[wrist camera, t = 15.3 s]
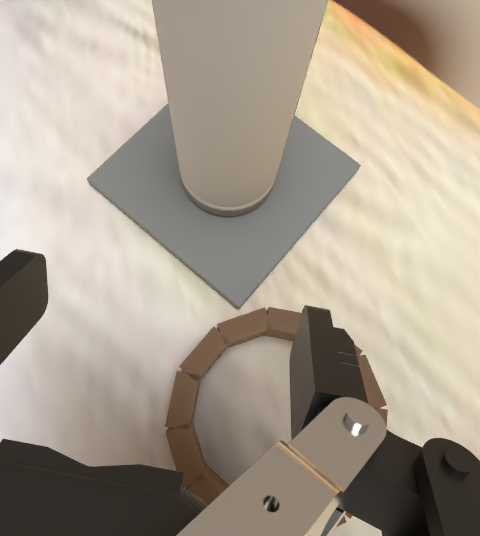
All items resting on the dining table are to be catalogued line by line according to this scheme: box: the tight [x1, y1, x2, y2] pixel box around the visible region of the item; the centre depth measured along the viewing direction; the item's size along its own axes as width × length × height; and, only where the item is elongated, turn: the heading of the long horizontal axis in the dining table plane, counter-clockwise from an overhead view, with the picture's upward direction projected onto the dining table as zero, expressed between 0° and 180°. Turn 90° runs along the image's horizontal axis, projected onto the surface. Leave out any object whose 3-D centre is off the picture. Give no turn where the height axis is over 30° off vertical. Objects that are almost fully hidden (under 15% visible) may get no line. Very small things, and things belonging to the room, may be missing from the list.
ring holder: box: [165, 307, 388, 527], centre depth 23 cm, size 11×11×3 cm
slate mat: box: [87, 103, 361, 309], centre depth 28 cm, size 13×13×1 cm
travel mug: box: [152, 0, 328, 216], centre depth 18 cm, size 6×7×20 cm
